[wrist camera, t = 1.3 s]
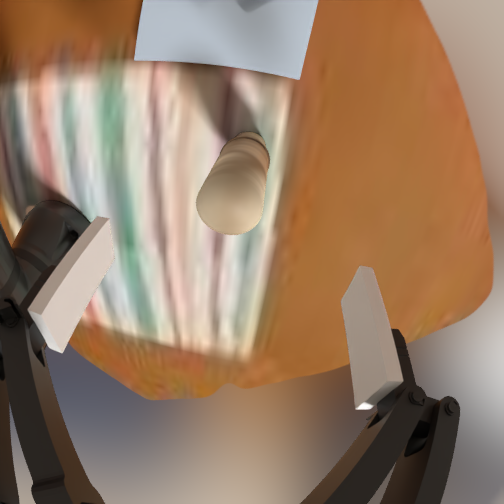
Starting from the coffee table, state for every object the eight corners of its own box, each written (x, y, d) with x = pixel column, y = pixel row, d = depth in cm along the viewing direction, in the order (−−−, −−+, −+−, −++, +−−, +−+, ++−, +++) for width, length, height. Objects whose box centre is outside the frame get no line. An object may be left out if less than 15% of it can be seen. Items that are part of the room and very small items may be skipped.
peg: (223, 163, 29) (192, 229, 20) (230, 123, 26) (198, 169, 17) (266, 172, 29) (257, 242, 20) (275, 131, 26) (271, 182, 17)
